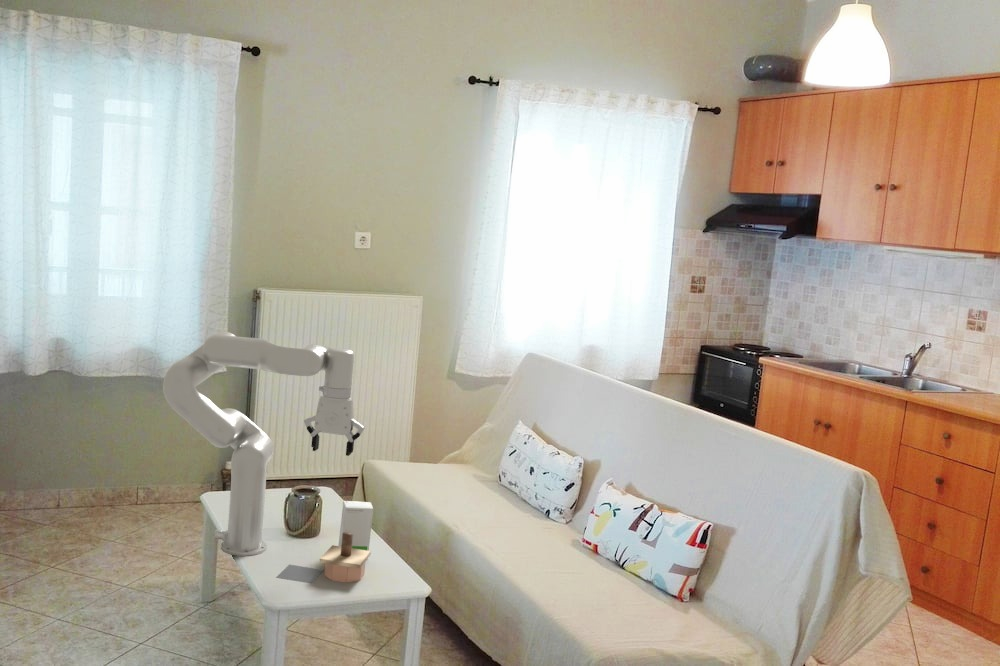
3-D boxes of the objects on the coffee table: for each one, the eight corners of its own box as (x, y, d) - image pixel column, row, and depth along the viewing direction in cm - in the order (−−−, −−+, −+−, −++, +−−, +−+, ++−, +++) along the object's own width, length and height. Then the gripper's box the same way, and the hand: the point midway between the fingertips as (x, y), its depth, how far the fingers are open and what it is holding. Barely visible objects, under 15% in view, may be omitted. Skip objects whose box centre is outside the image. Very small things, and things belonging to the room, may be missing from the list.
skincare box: (339, 560, 270) (344, 507, 269) (337, 552, 277) (341, 500, 275) (368, 560, 273) (373, 508, 271) (366, 552, 279) (370, 500, 277)
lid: (319, 562, 254) (321, 536, 253) (332, 548, 265) (334, 524, 264) (359, 568, 253) (361, 542, 252) (370, 554, 264) (372, 530, 263)
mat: (275, 578, 253) (275, 577, 253) (289, 565, 263) (289, 564, 263) (312, 584, 252) (312, 583, 251) (324, 571, 261) (324, 569, 261)
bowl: (320, 579, 255) (322, 561, 255) (332, 566, 265) (333, 549, 265) (356, 585, 254) (358, 567, 254) (367, 572, 264) (368, 554, 263)
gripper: (302, 391, 264) (297, 451, 266) (363, 399, 262) (357, 459, 264) (311, 386, 272) (306, 445, 274) (370, 394, 270) (365, 453, 272)
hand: (331, 452), depth 269 cm, fingers open, 9 cm apart
